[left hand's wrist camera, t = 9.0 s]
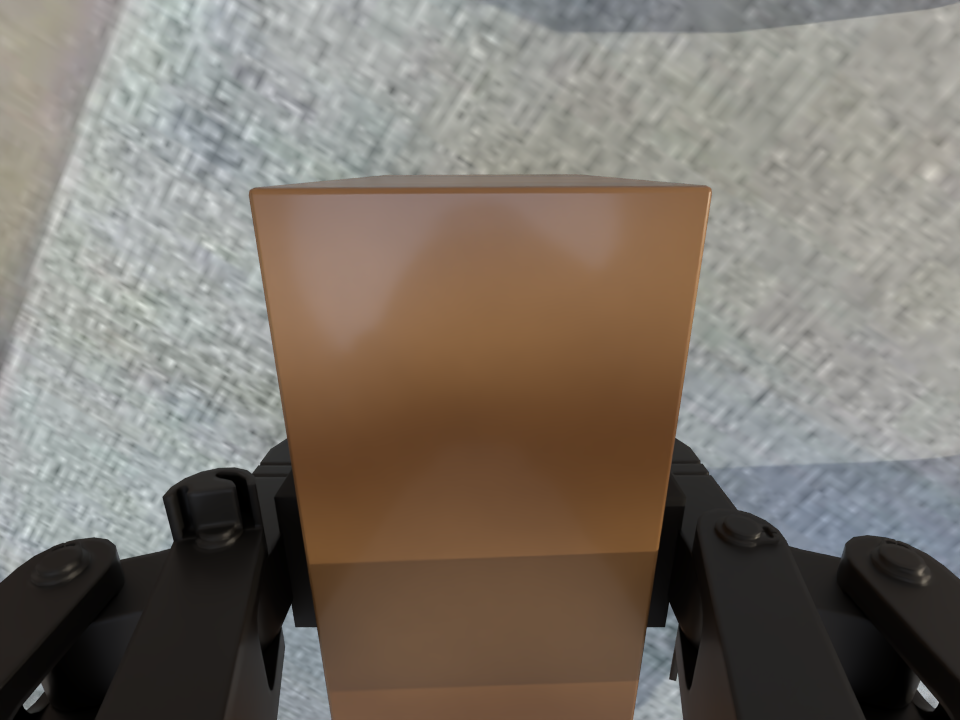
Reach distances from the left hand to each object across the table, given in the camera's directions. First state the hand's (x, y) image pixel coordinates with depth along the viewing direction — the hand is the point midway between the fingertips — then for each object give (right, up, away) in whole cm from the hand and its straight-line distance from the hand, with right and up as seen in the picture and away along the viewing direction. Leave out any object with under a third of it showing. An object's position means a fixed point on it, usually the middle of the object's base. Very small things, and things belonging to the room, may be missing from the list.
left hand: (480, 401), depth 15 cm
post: (0, -27, +11) cm, 29 cm away
